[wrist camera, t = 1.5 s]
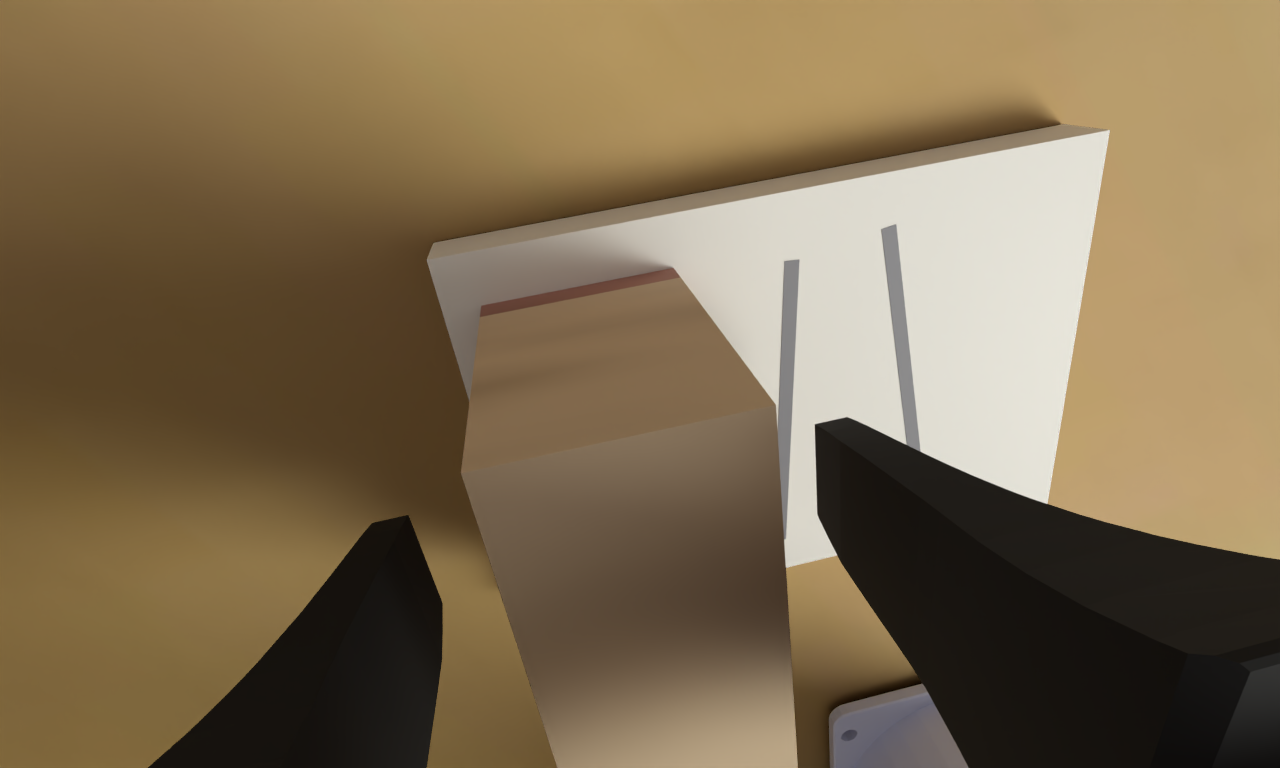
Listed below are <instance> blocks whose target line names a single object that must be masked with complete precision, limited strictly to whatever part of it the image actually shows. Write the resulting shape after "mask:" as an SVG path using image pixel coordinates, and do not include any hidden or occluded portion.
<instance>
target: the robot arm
mask: <svg viewBox="0 0 1280 768" xmlns="http://www.w3.org/2000/svg"><path fill="white" fill-rule="evenodd" d="M815 454H816V488H817V515H818V517H819V520H820V522H821V524H822V526H823V528H824V530H825V532H826V534H827V536H828V538H829V540H830V542H831V544H832V546H833V548H834V550H835V552H836V554H837V556H838V558H839V559H840V561H841V563H842V565H843V566H844V568H845V569H846V571H847V572H848V574H849V575H850V577H851V578H852V580H853V581H854V583H855V584H856V585H857V587H858V588H859V590H860V591H861V593H862V594H863V596H864V597H865V599H866V600H867V602H868V603H869V605H870V606H871V608H872V609H873V610H874V612H875V613H876V615H877V616H878V618H879V619H880V621H881V622H882V624H883V625H884V626H885V628H886V629H887V631H888V632H889V634H890V635H891V637H892V638H893V640H894V641H895V642H896V644H897V645H898V647H899V648H900V650H901V651H902V653H903V654H904V656H905V657H906V658H907V660H908V661H909V663H910V664H911V666H912V667H913V669H914V671H915V672H916V674H917V675H918V677H919V679H920V680H921V682H922V684H919V685H915V686H911V687H907V688H903V689H899V690H896V691H892V692H888V693H884V694H880V695H876V696H873V697H869V698H865V699H861V700H857V701H853V702H850V703H846V704H842V705H840V706H838V707H836V708H835V709H834V710H833V711H832V712H831V714H830V716H829V747H830V768H1280V560H1279V559H1272V558H1265V557H1259V556H1253V555H1248V554H1243V553H1237V552H1232V551H1227V550H1222V549H1217V548H1212V547H1207V546H1202V545H1196V544H1192V543H1187V542H1183V541H1178V540H1174V539H1169V538H1165V537H1161V536H1156V535H1152V534H1148V533H1145V532H1141V531H1137V530H1133V529H1129V528H1125V527H1122V526H1118V525H1114V524H1110V523H1106V522H1103V521H1099V520H1096V519H1093V518H1089V517H1086V516H1082V515H1079V514H1076V513H1073V512H1070V511H1067V510H1064V509H1061V508H1058V507H1055V506H1052V505H1049V504H1046V503H1043V502H1040V501H1037V500H1034V499H1031V498H1028V497H1025V496H1023V495H1020V494H1017V493H1015V492H1012V491H1009V490H1007V489H1004V488H1002V487H1000V486H997V485H995V484H992V483H990V482H987V481H985V480H982V479H980V478H977V477H975V476H973V475H970V474H968V473H966V472H964V471H961V470H959V469H957V468H954V467H952V466H950V465H948V464H946V463H943V462H941V461H939V460H937V459H935V458H933V457H931V456H928V455H926V454H924V453H922V452H920V451H918V450H916V449H914V448H912V447H910V446H908V445H906V444H904V443H902V442H900V441H897V440H895V439H893V438H891V437H889V436H887V435H885V434H883V433H881V432H879V431H877V430H875V429H873V428H871V427H869V426H867V425H865V424H862V423H860V422H858V421H856V420H853V419H851V418H849V417H845V418H840V419H836V420H831V421H827V422H822V423H818V424H815ZM442 634H443V624H442V601H441V598H440V596H439V593H438V591H437V588H436V585H435V583H434V580H433V578H432V575H431V572H430V570H429V567H428V565H427V562H426V560H425V557H424V554H423V552H422V549H421V547H420V544H419V541H418V539H417V536H416V534H415V531H414V528H413V526H412V523H411V521H410V518H409V516H408V515H407V516H402V517H398V518H393V519H389V520H384V521H380V522H375V523H372V524H371V525H370V526H369V527H368V529H367V530H366V531H365V532H364V533H363V535H362V536H361V537H360V538H359V540H358V541H357V542H356V544H355V545H354V546H353V547H352V549H351V550H350V551H349V553H348V554H347V555H346V556H345V558H344V559H343V560H342V562H341V563H340V564H339V566H338V567H337V568H336V569H335V571H334V572H333V573H332V575H331V576H330V577H329V578H328V580H327V581H326V582H325V583H324V585H323V586H322V587H321V588H320V590H319V591H318V592H317V593H316V595H315V596H314V597H313V598H312V600H311V601H310V602H309V603H308V605H307V606H306V607H305V608H304V610H303V611H302V612H301V613H300V614H299V616H298V617H297V618H296V619H295V620H294V621H293V623H292V624H291V625H290V626H289V627H288V628H287V629H286V631H285V632H284V633H283V634H282V635H281V636H280V637H279V639H278V640H277V641H276V642H275V643H274V644H273V645H272V647H271V648H270V649H269V650H268V651H267V652H266V653H265V655H264V656H263V657H262V658H261V659H260V660H259V661H258V663H257V664H256V665H255V666H254V667H253V668H252V669H251V670H250V671H249V672H248V673H247V674H246V676H245V677H244V678H243V679H242V680H241V681H240V682H239V683H238V684H237V685H236V686H235V687H234V688H233V689H232V690H231V691H230V692H229V693H228V694H227V695H226V696H225V697H224V698H223V699H222V700H221V701H220V702H219V703H218V704H217V705H216V706H215V707H214V708H213V709H212V710H211V711H210V712H209V713H208V714H207V715H206V716H205V717H204V718H203V719H202V720H201V721H200V722H199V723H198V724H196V725H195V726H194V727H193V728H192V729H191V730H190V731H189V732H188V733H187V734H186V735H185V736H184V737H182V738H181V739H180V740H179V741H178V742H177V743H176V744H174V745H173V746H172V747H171V748H170V749H169V750H168V751H166V752H165V753H164V754H163V755H162V756H161V757H160V758H159V759H157V760H156V761H155V762H154V763H153V764H152V765H151V766H149V767H148V768H426V767H427V761H428V754H429V747H430V740H431V733H432V727H433V720H434V713H435V706H436V699H437V692H438V685H439V677H440V670H441V662H442Z"/></svg>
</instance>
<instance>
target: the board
mask: <svg viewBox="0 0 1280 768" xmlns="http://www.w3.org/2000/svg"><path fill="white" fill-rule="evenodd" d="M1109 132H1110V130H1106V129H1098V128H1090V127H1083V126H1075V125H1067V124H1062V125H1057V126H1051V127H1046V128H1041V129H1035V130H1030V131H1025V132H1019V133H1014V134H1009V135H1004V136H998V137H993V138H988V139H982V140H977V141H972V142H966V143H961V144H956V145H950V146H945V147H940V148H934V149H929V150H924V151H919V152H913V153H908V154H903V155H897V156H892V157H887V158H881V159H876V160H871V161H865V162H860V163H855V164H849V165H844V166H839V167H834V168H828V169H823V170H818V171H812V172H807V173H802V174H796V175H791V176H786V177H780V178H775V179H770V180H764V181H759V182H754V183H749V184H743V185H738V186H733V187H727V188H722V189H717V190H711V191H706V192H701V193H695V194H690V195H685V196H679V197H674V198H669V199H664V200H658V201H653V202H648V203H642V204H637V205H632V206H626V207H621V208H616V209H610V210H605V211H600V212H594V213H589V214H584V215H579V216H573V217H568V218H563V219H557V220H552V221H547V222H541V223H536V224H531V225H525V226H520V227H515V228H509V229H504V230H499V231H494V232H488V233H483V234H478V235H472V236H467V237H462V238H456V239H451V240H446V241H440V242H435V243H433V245H432V248H431V250H430V253H429V255H428V258H427V263H428V267H429V270H430V273H431V276H432V280H433V283H434V286H435V290H436V293H437V296H438V300H439V303H440V306H441V310H442V313H443V316H444V319H445V323H446V326H447V329H448V333H449V336H450V339H451V343H452V346H453V349H454V353H455V356H456V359H457V362H458V366H459V369H460V372H461V376H462V379H463V382H464V386H465V389H466V392H467V396H468V399H469V402H470V394H471V385H472V377H473V369H474V361H475V352H476V344H477V336H478V327H479V319H480V311H481V306H482V305H487V304H492V303H497V302H502V301H507V300H512V299H518V298H523V297H528V296H533V295H538V294H543V293H548V292H553V291H558V290H563V289H568V288H574V287H579V286H584V285H589V284H594V283H599V282H604V281H609V280H614V279H619V278H624V277H629V276H635V275H640V274H645V273H650V272H655V271H660V270H665V269H670V268H674V269H675V270H676V272H677V273H678V274H679V276H680V277H681V278H682V280H683V281H684V282H685V284H686V285H687V286H688V288H689V289H690V290H691V292H692V293H693V294H694V296H695V297H696V298H697V300H698V301H699V303H700V304H701V305H702V307H703V308H704V309H705V311H706V312H707V313H708V315H709V316H710V317H711V319H712V320H713V321H714V323H715V324H716V325H717V327H718V328H719V329H720V331H721V332H722V333H723V335H724V336H725V337H726V339H727V340H728V341H729V343H730V344H731V345H732V347H733V348H734V349H735V351H736V352H737V353H738V355H739V356H740V357H741V359H742V360H743V361H744V363H745V364H746V365H747V367H748V368H749V369H750V371H751V372H752V373H753V375H754V376H755V377H756V379H757V380H758V381H759V383H760V384H761V385H762V387H763V388H764V389H765V391H766V392H767V394H768V395H769V396H770V398H771V399H772V400H773V402H774V403H775V404H776V413H777V430H778V446H779V463H780V480H781V496H782V513H783V529H784V546H785V562H786V568H787V567H791V566H795V565H799V564H804V563H808V562H812V561H816V560H820V559H824V558H828V557H833V556H837V554H836V552H835V550H834V548H833V546H832V544H831V542H830V540H829V538H828V536H827V534H826V532H825V530H824V528H823V526H822V524H821V522H820V520H819V517H818V515H817V488H816V454H815V424H818V423H822V422H827V421H831V420H836V419H840V418H845V417H849V418H851V419H853V420H856V421H858V422H860V423H862V424H865V425H867V426H869V427H871V428H873V429H875V430H877V431H879V432H881V433H883V434H885V435H887V436H889V437H891V438H893V439H895V440H897V441H900V442H902V443H904V444H906V445H908V446H910V447H912V448H914V449H916V450H918V451H920V452H922V453H924V454H926V455H928V456H931V457H933V458H935V459H937V460H939V461H941V462H943V463H946V464H948V465H950V466H952V467H954V468H957V469H959V470H961V471H964V472H966V473H968V474H970V475H973V476H975V477H977V478H980V479H982V480H985V481H987V482H990V483H992V484H995V485H997V486H1000V487H1002V488H1004V489H1007V490H1009V491H1012V492H1015V493H1017V494H1020V495H1023V496H1025V497H1028V498H1031V499H1034V500H1037V501H1040V502H1043V503H1046V504H1047V503H1048V497H1049V491H1050V485H1051V479H1052V473H1053V467H1054V461H1055V455H1056V449H1057V443H1058V437H1059V431H1060V425H1061V419H1062V413H1063V407H1064V401H1065V395H1066V389H1067V383H1068V377H1069V371H1070V365H1071V359H1072V353H1073V347H1074V341H1075V336H1076V330H1077V324H1078V318H1079V312H1080V306H1081V300H1082V294H1083V288H1084V282H1085V276H1086V270H1087V264H1088V258H1089V252H1090V246H1091V240H1092V234H1093V228H1094V222H1095V216H1096V210H1097V204H1098V198H1099V192H1100V186H1101V180H1102V174H1103V168H1104V162H1105V156H1106V150H1107V144H1108V138H1109Z"/></svg>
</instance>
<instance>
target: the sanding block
mask: <svg viewBox="0 0 1280 768" xmlns="http://www.w3.org/2000/svg"><path fill="white" fill-rule="evenodd" d="M461 475H462V478H463V481H464V484H465V487H466V490H467V493H468V496H469V500H470V503H471V506H472V509H473V512H474V515H475V518H476V521H477V524H478V527H479V530H480V533H481V536H482V539H483V542H484V545H485V548H486V551H487V554H488V558H489V561H490V564H491V567H492V570H493V573H494V576H495V579H496V582H497V585H498V588H499V591H500V594H501V597H502V600H503V603H504V606H505V609H506V612H507V615H508V619H509V622H510V625H511V628H512V631H513V634H514V637H515V640H516V643H517V646H518V649H519V652H520V655H521V658H522V661H523V664H524V667H525V670H526V673H527V677H528V680H529V683H530V686H531V689H532V692H533V695H534V698H535V701H536V704H537V707H538V710H539V713H540V716H541V719H542V722H543V725H544V728H545V731H546V735H547V738H548V741H549V744H550V747H551V750H552V753H553V756H554V759H555V762H556V765H557V768H798V761H797V745H796V728H795V711H794V695H793V678H792V662H791V645H790V629H789V612H788V595H787V579H786V562H785V546H784V529H783V513H782V496H781V480H780V463H779V446H778V430H777V413H776V404H775V403H774V402H773V400H772V399H771V398H770V396H769V395H768V394H767V392H766V391H765V389H764V388H763V387H762V385H761V384H760V383H759V381H758V380H757V379H756V377H755V376H754V375H753V373H752V372H751V371H750V369H749V368H748V367H747V365H746V364H745V363H744V361H743V360H742V359H741V357H740V356H739V355H738V353H737V352H736V351H735V349H734V348H733V347H732V345H731V344H730V343H729V341H728V340H727V339H726V337H725V336H724V335H723V333H722V332H721V331H720V329H719V328H718V327H717V325H716V324H715V323H714V321H713V320H712V319H711V317H710V316H709V315H708V313H707V312H706V311H705V309H704V308H703V307H702V305H701V304H700V303H699V301H698V300H697V298H696V297H695V296H694V294H693V293H692V292H691V290H690V289H689V288H688V286H687V285H686V284H685V282H684V281H683V280H682V278H681V277H680V276H679V274H678V273H677V272H676V270H675V269H674V268H670V269H665V270H660V271H655V272H650V273H645V274H640V275H635V276H629V277H624V278H619V279H614V280H609V281H604V282H599V283H594V284H589V285H584V286H579V287H574V288H568V289H563V290H558V291H553V292H548V293H543V294H538V295H533V296H528V297H523V298H518V299H512V300H507V301H502V302H497V303H492V304H487V305H482V306H481V311H480V319H479V327H478V336H477V344H476V352H475V361H474V369H473V377H472V385H471V394H470V402H469V410H468V419H467V427H466V435H465V443H464V452H463V460H462V468H461Z"/></svg>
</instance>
